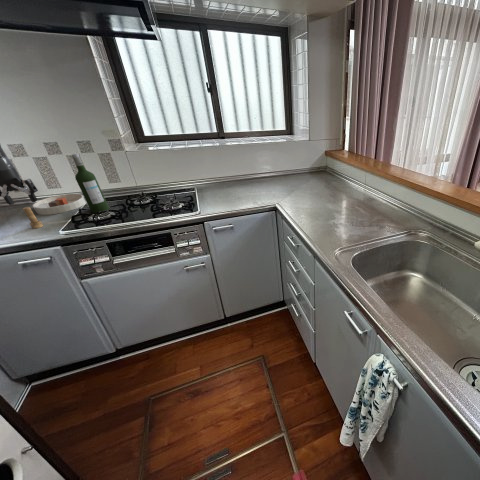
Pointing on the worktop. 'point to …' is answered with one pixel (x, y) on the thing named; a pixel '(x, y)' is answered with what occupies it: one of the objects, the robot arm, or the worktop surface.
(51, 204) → the walnut block
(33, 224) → the muddler
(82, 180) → the wine bottle
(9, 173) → the robot arm
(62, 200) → the terracotta block
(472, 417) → the worktop surface
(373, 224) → the worktop surface
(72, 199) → the bowl
